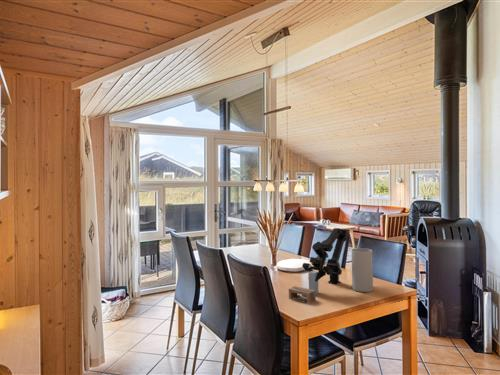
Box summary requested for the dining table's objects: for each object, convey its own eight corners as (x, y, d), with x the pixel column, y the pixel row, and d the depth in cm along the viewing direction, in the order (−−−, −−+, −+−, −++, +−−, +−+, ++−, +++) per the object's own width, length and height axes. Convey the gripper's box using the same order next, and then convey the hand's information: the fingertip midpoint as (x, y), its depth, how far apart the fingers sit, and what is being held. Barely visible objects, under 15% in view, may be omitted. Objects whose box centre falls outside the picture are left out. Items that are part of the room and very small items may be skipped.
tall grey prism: (311, 291, 212) (310, 270, 212) (319, 293, 208) (319, 272, 208) (301, 295, 204) (301, 274, 203) (310, 298, 200) (309, 276, 199)
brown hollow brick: (295, 294, 206) (295, 286, 205) (315, 299, 196) (315, 290, 196) (288, 298, 200) (288, 288, 200) (309, 303, 191) (309, 293, 191)
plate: (298, 268, 250) (269, 264, 267) (299, 277, 251) (270, 272, 268) (316, 257, 272) (288, 254, 288) (317, 265, 272) (289, 261, 289)
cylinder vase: (364, 285, 221) (363, 247, 221) (377, 291, 209) (376, 250, 209) (348, 288, 217) (347, 249, 216) (360, 293, 205) (360, 252, 205)
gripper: (303, 250, 217) (294, 271, 209) (329, 253, 205) (320, 275, 197) (310, 260, 223) (301, 280, 215) (336, 264, 211) (327, 286, 203)
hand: (312, 280), depth 207 cm, fingers closed on tall grey prism, 4 cm apart
